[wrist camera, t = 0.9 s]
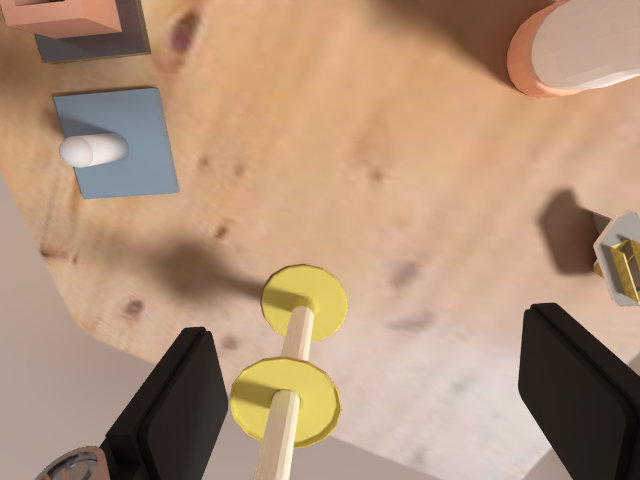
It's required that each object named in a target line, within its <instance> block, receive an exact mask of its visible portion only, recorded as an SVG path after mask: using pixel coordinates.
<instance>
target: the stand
mask: <svg viewBox="0 0 640 480" xmlns="http://www.w3.org/2000/svg"><path fill="white" fill-rule="evenodd" d="M51 1H54V2H61V1H65V0H51ZM115 3H116V7H117V11H118V16H119V20H120V25H121V29H122V32H117V33H107V34H97V35H88V36H78V37H68V38H59V39H54V38H50V37H46V36H43V35H39V34H35V37H36V40H37V44H38V47H39V50H40V54H41V57H42V61H43V63H49V64H56V63H66V62H76V61H86V60H97V59H107V58H117V57H127V56H138V55H148V54H151V49H150V45H149V40H148V35H147V30H146V25H145V20H144V15H143V10H142V5H141V1H140V0H115Z"/></svg>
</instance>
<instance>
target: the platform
mask: <svg viewBox="0 0 640 480" xmlns="http://www.w3.org/2000/svg"><path fill="white" fill-rule="evenodd" d="M591 214H592V217H593V220H594V223H595V225H596V228H597V231H598V234H599V238H598V239H597V240H596V242H595V243H594V245H593V247H594V250H595V253H596V256H597V260H596V262H595V263H594V269H592V270H593V272H595V273H596V274H598V275H600V276H601V277H603V278H604V279H605V282H606V285H607V288H608V291H609V294H610V297H611V299H612V300H613V301H614V302H615V303H616V304H617V305H619V306H640V220H639V216H638V214H637V213H636V212H633V211H630V210H627V211H625V212H622V213H620V214H618V215H616V216H614V217H613V218H612V219H611V218H608V217H605V216H603V215H600V214H598V213H595V212H591Z"/></svg>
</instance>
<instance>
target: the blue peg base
mask: <svg viewBox="0 0 640 480" xmlns="http://www.w3.org/2000/svg"><path fill="white" fill-rule="evenodd" d="M53 98H54V101H55V105H56V108H57V111H58V115H59V118H60V122H61V125H62V128H63V132H64V135H65V140H63V141H62V143H61V144H60V147H59V153H60V156H61V158H62V159H63V160H64V161H65V162H66V163H67V164H69V165H70V166H73V167H74V169H75V173H76V176H77V179H78V183H79V186H80V190H81V193H82V196H83V199H95V198H110V197H126V196H141V195H156V194H171V193H177V192H179V186H178V181H177V176H176V172H175V167H174V162H173V157H172V152H171V147H170V142H169V137H168V132H167V128H166V123H165V118H164V113H163V108H162V103H161V98H160V93H159V89H157V88H148V89H137V90H126V91H115V92H103V93H92V94H81V95H70V96H59V97H53Z"/></svg>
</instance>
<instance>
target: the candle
mask: <svg viewBox="0 0 640 480" xmlns="http://www.w3.org/2000/svg"><path fill="white" fill-rule="evenodd" d="M261 304H262V308H263V312H264V316H265V319H266V320H267V321H268V323H269V324H270V325H271V327H272V328H273V329H274V330H275V331H276V332H278V333H279V334H281V335H283V336H284V337H285V341H284V345H283V349H282V353H281V357H274V358H265V359H262V360H260V361H258V362H256V363H254V364H252V365H250V366H248V367H246V368H245V369H244V370H243V371H242V372H241V374H240V375H239V376H238V378H237V379H236V380H235V381H234V383H233V384H232V389H231V394H230V400H229V404H230V407H231V410H232V414H233V417H234V420H235V421H236V422H237V423H238V424H239V425H240V427H241V428H242V429H243V430H244V431H245V432H246V434H247V435H249V436H251V437H253V438H255V439H256V440H258V441H260V442H262V445H261V448H260V453H259V457H258V461H257V465H256V469H255V473H254V478H253V480H289V474H290V466H291V460H292V452H293V448H301V447H307V446H310V445H312V444H314V443H316V442H319V441H321V440H323V439H324V438H326V437H327V436H328V435H329V434H330V432H331V431H332V430H333V429H334V428H335V427H336V426H337V423H338V420H339V417H340V414H341V410H342V406H341V401H340V396H339V391H338V388H337V387H336V386H335V384H334V383H333V382H332V380H331V379H330V378H329V376H328V375H327V374H326V372H324V371H323V370H321V369H319V368H318V367H316V366H314V365H313V364H311V363H310V362H308V356H309V348H310V342H312V341H320V340H322V339H324V338H326V337H328V336H330V335H332V334H334V333H335V331H336V330H337V329H338V328H339V327H340V326H341V324H342V323H343V322H344V320H345V316H346V312H347V309H348V304H347V298H346V292H345V290H344V289H343V287H342V286H341V284H340V283H339V281H338V280H337V278H336V277H334V276H333V275H331V274H330V273H328V272H327V271H325V270H324V269H322V268H318V267H314V266H310V265H305V264H304V265H297V266H290V267H287V268H285V269H283V270H281V271H280V272H278V273H276V274H275V275H273V276H272V278H271V279H270V281H269V282H268V283H267V285H266V286H265V287H264V291H263V297H262V302H261Z"/></svg>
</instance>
